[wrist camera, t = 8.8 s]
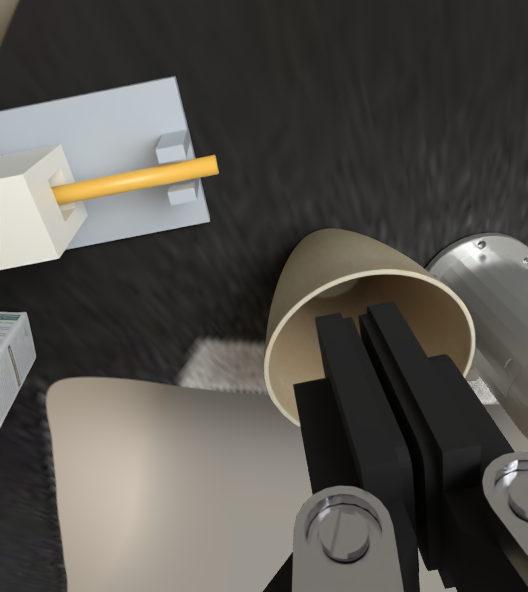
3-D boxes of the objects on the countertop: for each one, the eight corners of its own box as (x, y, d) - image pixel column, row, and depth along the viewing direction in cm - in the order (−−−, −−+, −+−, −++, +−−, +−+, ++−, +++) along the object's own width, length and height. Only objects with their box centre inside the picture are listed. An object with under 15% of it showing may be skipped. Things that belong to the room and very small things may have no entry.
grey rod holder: (231, 213, 44) (234, 249, 37) (-4, 259, 44) (-45, 303, 37) (200, 70, 37) (196, 82, 31) (-72, 124, 38) (-137, 148, 31)
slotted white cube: (87, 215, 40) (59, 258, 33) (30, 226, 40) (-11, 272, 33) (60, 144, 37) (22, 174, 30) (-2, 156, 37) (-55, 189, 30)
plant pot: (240, 202, 43) (250, 287, 29) (402, 179, 43) (488, 254, 30) (259, 336, 51) (275, 454, 37) (398, 316, 51) (464, 426, 37)
